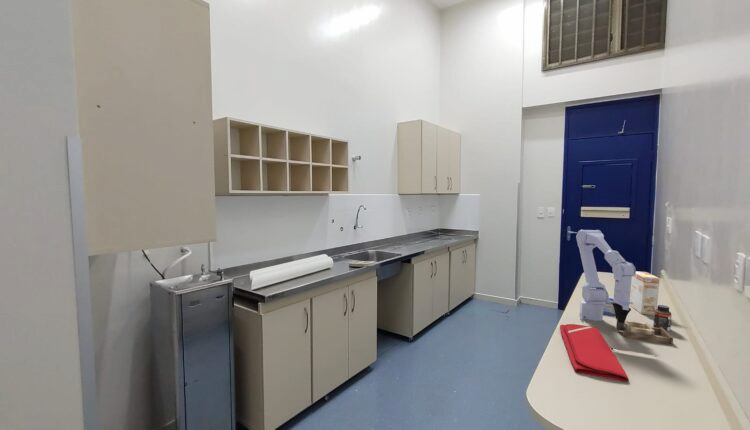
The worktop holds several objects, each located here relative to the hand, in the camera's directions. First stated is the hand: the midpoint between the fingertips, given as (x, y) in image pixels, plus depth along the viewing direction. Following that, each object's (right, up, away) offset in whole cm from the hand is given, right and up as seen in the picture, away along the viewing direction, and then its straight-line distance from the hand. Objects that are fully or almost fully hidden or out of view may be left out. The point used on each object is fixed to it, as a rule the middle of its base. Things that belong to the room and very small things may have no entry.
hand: (620, 321), depth 149 cm
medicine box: (+13, -5, +26) cm, 30 cm away
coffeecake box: (+36, -5, +33) cm, 49 cm away
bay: (+6, -6, -2) cm, 9 cm away
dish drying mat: (-24, -7, -16) cm, 30 cm away
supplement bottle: (+23, -6, +6) cm, 24 cm away
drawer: (+4, -5, -2) cm, 7 cm away
